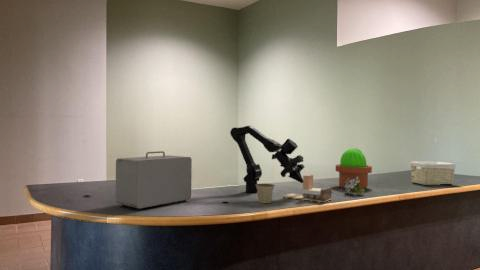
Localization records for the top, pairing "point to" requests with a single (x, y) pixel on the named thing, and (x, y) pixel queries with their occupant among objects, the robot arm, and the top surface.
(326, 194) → the tan cardboard slab
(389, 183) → the top surface
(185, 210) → the top surface
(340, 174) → the potted cactus
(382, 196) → the top surface
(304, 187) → the brown piece
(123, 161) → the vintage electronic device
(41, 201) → the top surface
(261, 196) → the flower pot
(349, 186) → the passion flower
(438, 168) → the storage basket
